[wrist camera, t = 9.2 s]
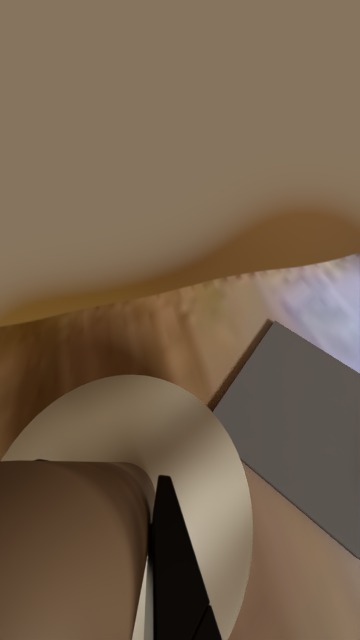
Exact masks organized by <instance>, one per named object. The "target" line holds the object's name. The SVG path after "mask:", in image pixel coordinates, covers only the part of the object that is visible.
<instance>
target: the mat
mask: <svg viewBox="0 0 360 640" xmlns="http://www.w3.org/2000/svg"><path fill="white" fill-rule="evenodd" d="M212 413H213V414H214V415H215V416H216V417H217V418H218V420H219V421H220V422H221V424H222V425H223V427H224V428H225V430H226V431H227V433H228V434H229V436H230V438H231V440H232V442H233V444H234V446H235V448H236V450H237V452H238V455H239V458H240V460H241V461H242V462H244V463H245V464H246V465H247V466H248V467H249V468H251V469H252V470H253V471H254V472H255V473H257V474H258V475H259V476H260V477H261V478H262V479H264V480H265V481H266V482H267V483H268V484H270V485H271V486H272V487H273V488H274V489H275V490H277V491H278V492H279V493H280V494H281V495H283V496H284V497H285V498H286V499H287V500H288V501H290V502H291V503H292V504H293V505H294V506H296V507H297V508H298V509H299V510H300V511H301V512H303V513H304V514H305V515H306V516H307V517H309V518H310V519H311V520H312V521H313V522H314V523H316V524H317V525H318V526H319V527H320V528H322V529H323V530H324V531H325V532H326V533H327V534H329V535H330V536H331V537H332V538H333V539H335V540H336V541H337V542H338V543H339V544H341V545H342V546H343V547H344V548H345V549H346V550H348V551H349V552H350V553H351V554H352V555H354V556H355V557H356V558H358V559H360V374H359V373H358V372H356V371H355V370H353V369H351V368H350V367H348V366H347V365H345V364H343V363H342V362H340V361H339V360H337V359H335V358H334V357H332V356H331V355H329V354H328V353H326V352H324V351H323V350H321V349H320V348H318V347H316V346H315V345H313V344H312V343H310V342H308V341H307V340H305V339H304V338H302V337H300V336H299V335H297V334H296V333H294V332H292V331H291V330H289V329H288V328H286V327H284V326H283V325H281V324H280V323H278V322H277V321H274V323H273V324H272V325H271V327H270V328H269V330H268V331H267V333H266V334H265V336H264V337H263V339H262V340H261V341H260V343H259V344H258V346H257V347H256V349H255V350H254V352H253V353H252V355H251V356H250V358H249V359H248V360H247V362H246V363H245V365H244V366H243V368H242V369H241V371H240V372H239V374H238V375H237V377H236V378H235V379H234V381H233V382H232V384H231V385H230V387H229V388H228V390H227V391H226V393H225V394H224V396H223V397H222V399H221V400H220V401H219V403H218V404H217V406H216V407H215V409H214V410H213V412H212Z"/></svg>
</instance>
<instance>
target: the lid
mask: <svg viewBox="0 0 360 640" xmlns="http://www.w3.org/2000/svg"><path fill="white" fill-rule="evenodd" d="M36 459H44V460H49V461H34V460H36ZM159 475H168V476H170V477H171V479H172V482H173V485H174V488H175V491H176V495H177V498H178V501H179V504H180V507H181V511H182V514H183V517H184V520H185V523H186V526H187V530H188V533H189V536H190V539H191V542H192V546H193V549H194V552H195V555H196V558H197V562H198V565H199V568H200V571H201V574H202V578H203V581H204V584H205V587H206V590H207V594H208V597H209V600H210V604H209V605H211V606H212V609H213V612H214V615H215V619H216V622H217V625H218V628H219V631H220V634H221V637H222V640H228V638H229V636H230V634H231V632H232V630H233V627H234V624H235V622H236V619H237V616H238V614H239V611H240V608H241V605H242V602H243V598H244V594H245V590H246V586H247V582H248V578H249V571H250V564H251V557H252V542H253V521H252V506H251V500H250V494H249V487H248V483H247V480H246V476H245V472H244V468H243V465H242V463H241V460H240V458H239V455H238V452H237V450H236V448H235V446H234V444H233V442H232V440H231V438H230V436H229V434H228V433H227V431H226V430H225V428H224V427H223V425H222V424H221V422H220V421H219V420H218V418H217V417H216V416H215V415H214V414H213V413H212V411H211V410H210V409H209V408H208V407H207V406H206V405H205V404H203V403H202V402H201V401H200V400H199V399H198V398H197V397H195V396H194V395H192V394H191V393H190V392H188V391H187V390H185V389H183V388H181V387H179V386H177V385H176V384H173V383H171V382H168V381H165V380H163V379H159V378H155V377H151V376H144V375H117V376H111V377H105V378H102V379H98V380H95V381H91V382H89V383H87V384H84V385H82V386H79V387H77V388H75V389H73V390H72V391H70V392H68V393H66V394H64V395H63V396H61V397H60V398H58V399H57V400H56V401H54V402H53V403H51V404H50V405H49V406H48V407H46V408H45V409H44V410H43V411H42V412H40V413H39V414H38V415H37V416H36V417H35V418H34V419H33V420H32V421H31V422H30V423H29V424H28V425H27V426H26V427H25V428H24V429H23V431H22V432H21V433H20V434H19V436H18V437H17V438H16V439H15V441H14V442H13V443H12V445H11V446H10V447H9V449H8V451H7V452H6V454H5V455H4V457H3V458H2V460H1V461H0V640H144V620H145V597H146V574H147V559H148V551H149V542H150V533H151V524H152V516H153V507H154V501H155V494H156V487H157V481H158V476H159Z"/></svg>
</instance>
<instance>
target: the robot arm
mask: <svg viewBox="0 0 360 640" xmlns="http://www.w3.org/2000/svg"><path fill="white" fill-rule="evenodd" d="M34 461H49V460H44V459H36V460H34ZM209 604H210V600H209V597H208V594H207V590H206V587H205V584H204V581H203V578H202V574H201V571H200V568H199V565H198V562H197V558H196V555H195V552H194V549H193V546H192V542H191V539H190V536H189V533H188V530H187V526H186V523H185V520H184V517H183V514H182V511H181V507H180V504H179V501H178V498H177V495H176V491H175V488H174V485H173V482H172V479H171V477H170V476H168V475H159V476H158V481H157V487H156V494H155V501H154V507H153V516H152V524H151V533H150V542H149V551H148V559H147V574H146V597H145V620H144V640H222V637H221V634H220V631H219V628H218V625H217V622H216V619H215V615H214V612H213V609H212V606H211V605H209Z"/></svg>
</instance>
